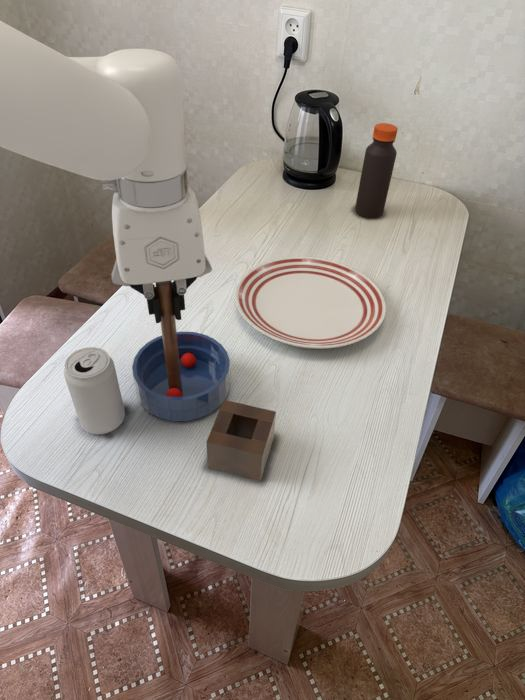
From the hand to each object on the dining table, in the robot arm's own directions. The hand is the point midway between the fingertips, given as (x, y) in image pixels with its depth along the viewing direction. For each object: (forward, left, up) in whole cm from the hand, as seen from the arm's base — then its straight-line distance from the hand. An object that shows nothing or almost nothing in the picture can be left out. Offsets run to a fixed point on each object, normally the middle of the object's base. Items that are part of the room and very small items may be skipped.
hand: (167, 314), depth 67 cm
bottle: (+23, +67, -16) cm, 73 cm away
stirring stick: (0, 0, -15) cm, 15 cm away
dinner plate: (+16, +26, -16) cm, 35 cm away
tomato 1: (+1, -2, -15) cm, 15 cm away
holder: (+13, -8, -16) cm, 22 cm away
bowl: (+1, +1, -16) cm, 16 cm away
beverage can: (-8, -8, -16) cm, 20 cm away
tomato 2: (+1, +5, -15) cm, 15 cm away
